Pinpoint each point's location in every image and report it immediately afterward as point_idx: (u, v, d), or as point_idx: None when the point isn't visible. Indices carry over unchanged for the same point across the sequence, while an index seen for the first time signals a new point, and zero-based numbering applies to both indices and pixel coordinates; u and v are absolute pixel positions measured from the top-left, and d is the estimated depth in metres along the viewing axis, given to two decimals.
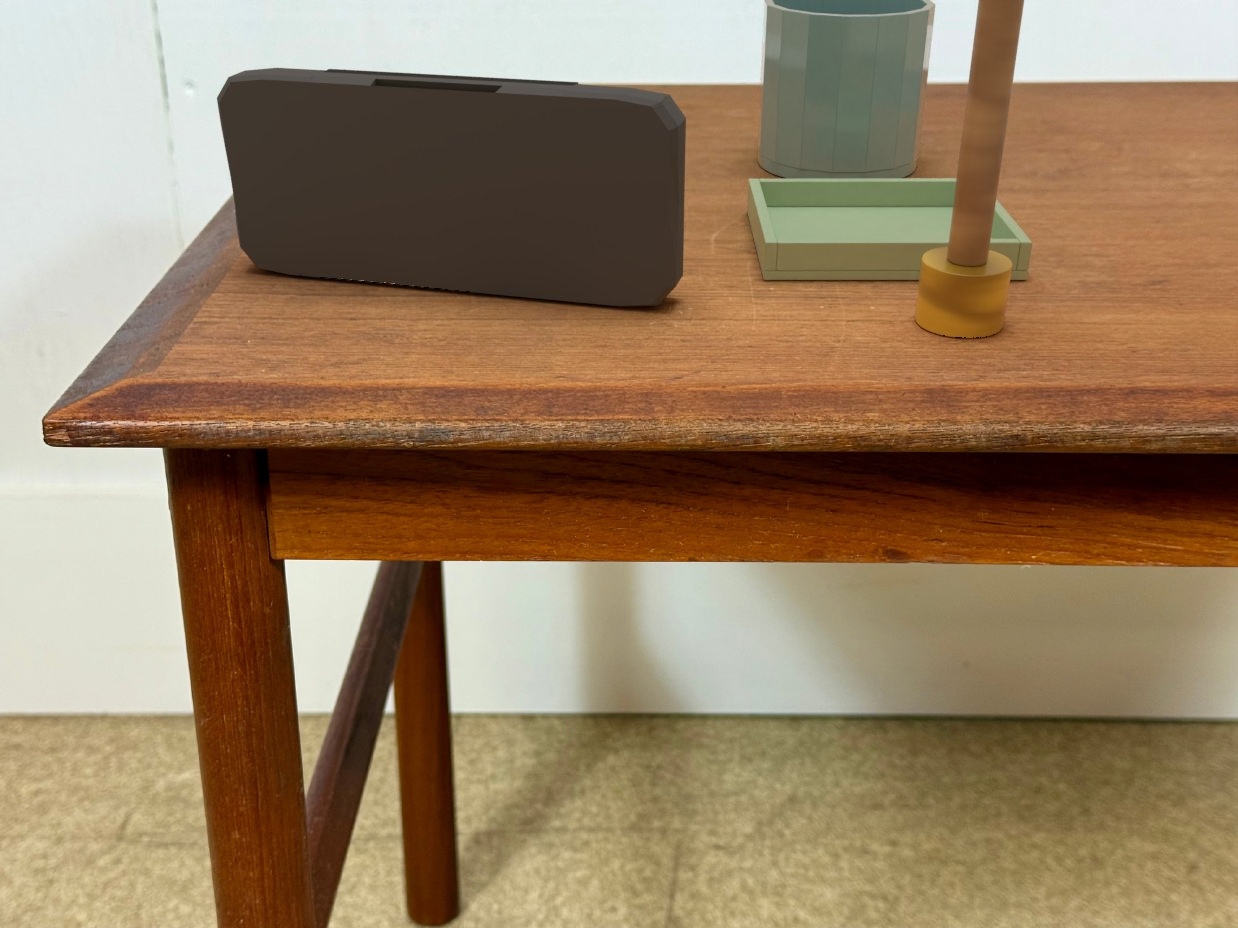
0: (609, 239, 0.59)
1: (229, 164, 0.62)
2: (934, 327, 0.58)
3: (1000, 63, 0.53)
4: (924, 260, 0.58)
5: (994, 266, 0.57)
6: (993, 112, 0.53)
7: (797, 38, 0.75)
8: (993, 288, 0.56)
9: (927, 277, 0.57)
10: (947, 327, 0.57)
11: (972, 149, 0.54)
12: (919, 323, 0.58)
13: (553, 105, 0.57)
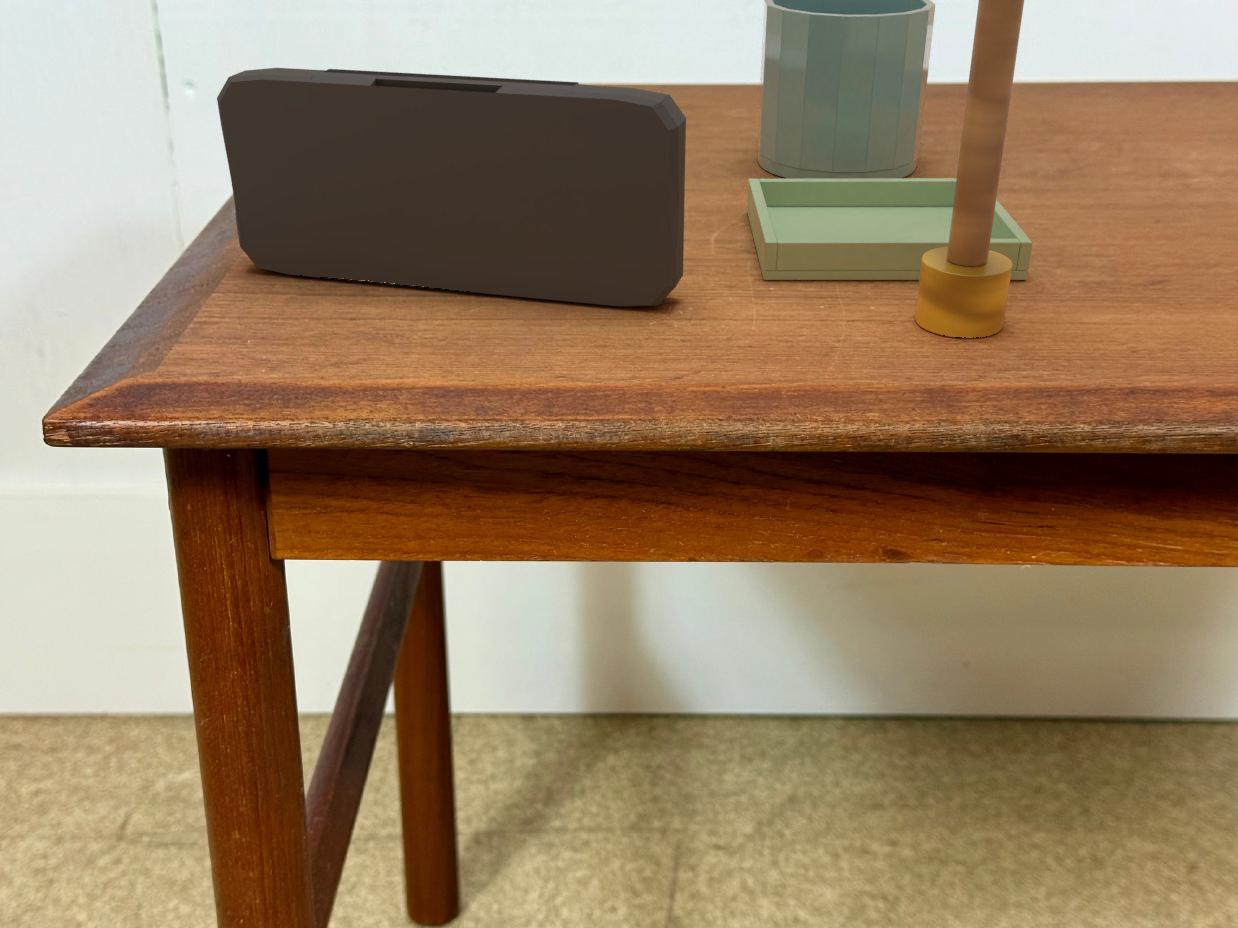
0: (609, 239, 0.59)
1: (229, 164, 0.62)
2: (934, 327, 0.58)
3: (1000, 63, 0.53)
4: (924, 260, 0.58)
5: (994, 266, 0.57)
6: (993, 112, 0.53)
7: (797, 38, 0.75)
8: (993, 288, 0.56)
9: (927, 277, 0.57)
10: (947, 327, 0.57)
11: (972, 149, 0.54)
12: (919, 323, 0.58)
13: (553, 105, 0.57)
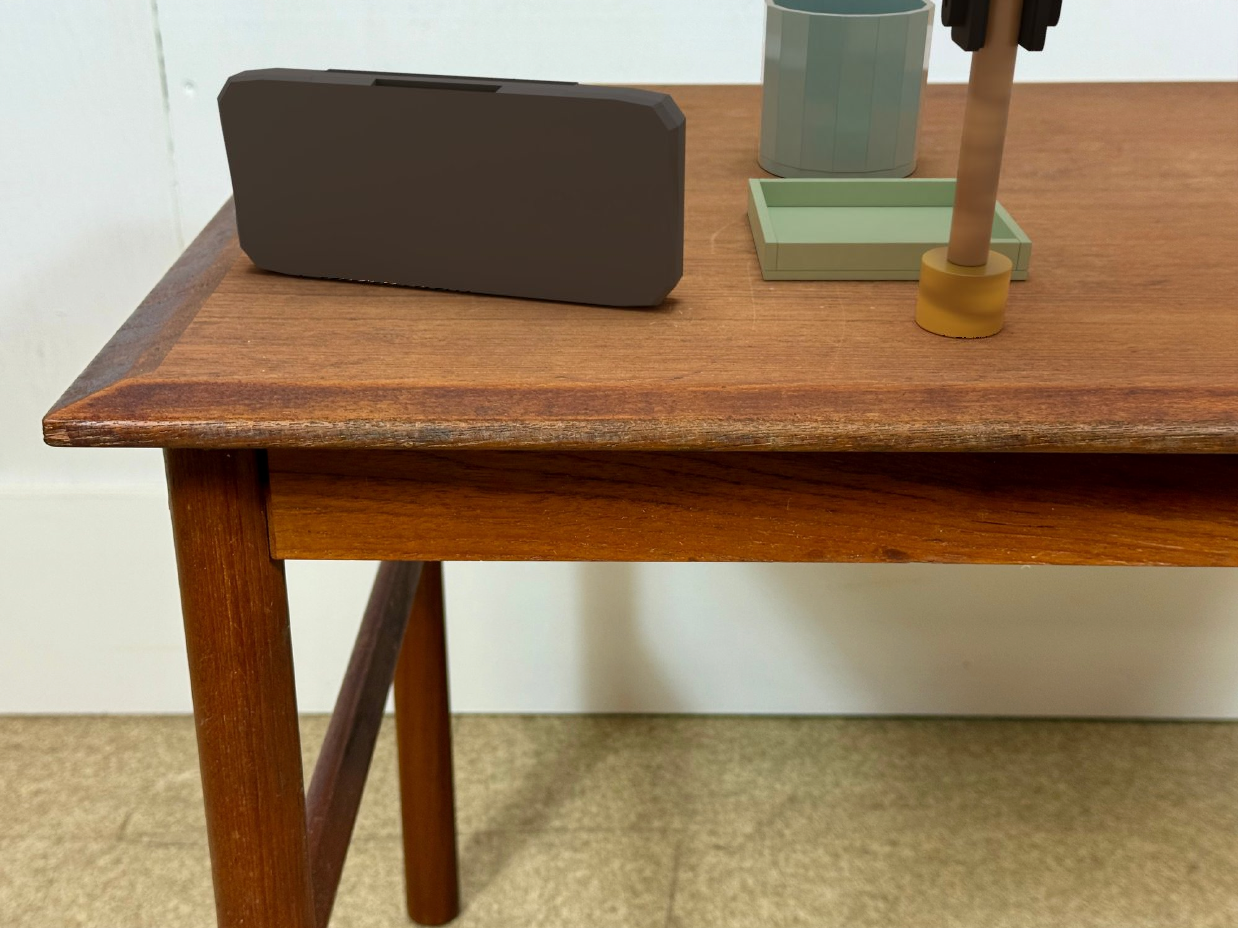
0: (609, 239, 0.59)
1: (229, 164, 0.62)
2: (934, 327, 0.58)
3: (1000, 63, 0.53)
4: (924, 260, 0.58)
5: (994, 266, 0.57)
6: (993, 112, 0.53)
7: (797, 38, 0.75)
8: (993, 288, 0.56)
9: (927, 277, 0.57)
10: (947, 327, 0.57)
11: (972, 149, 0.54)
12: (919, 323, 0.58)
13: (553, 105, 0.57)
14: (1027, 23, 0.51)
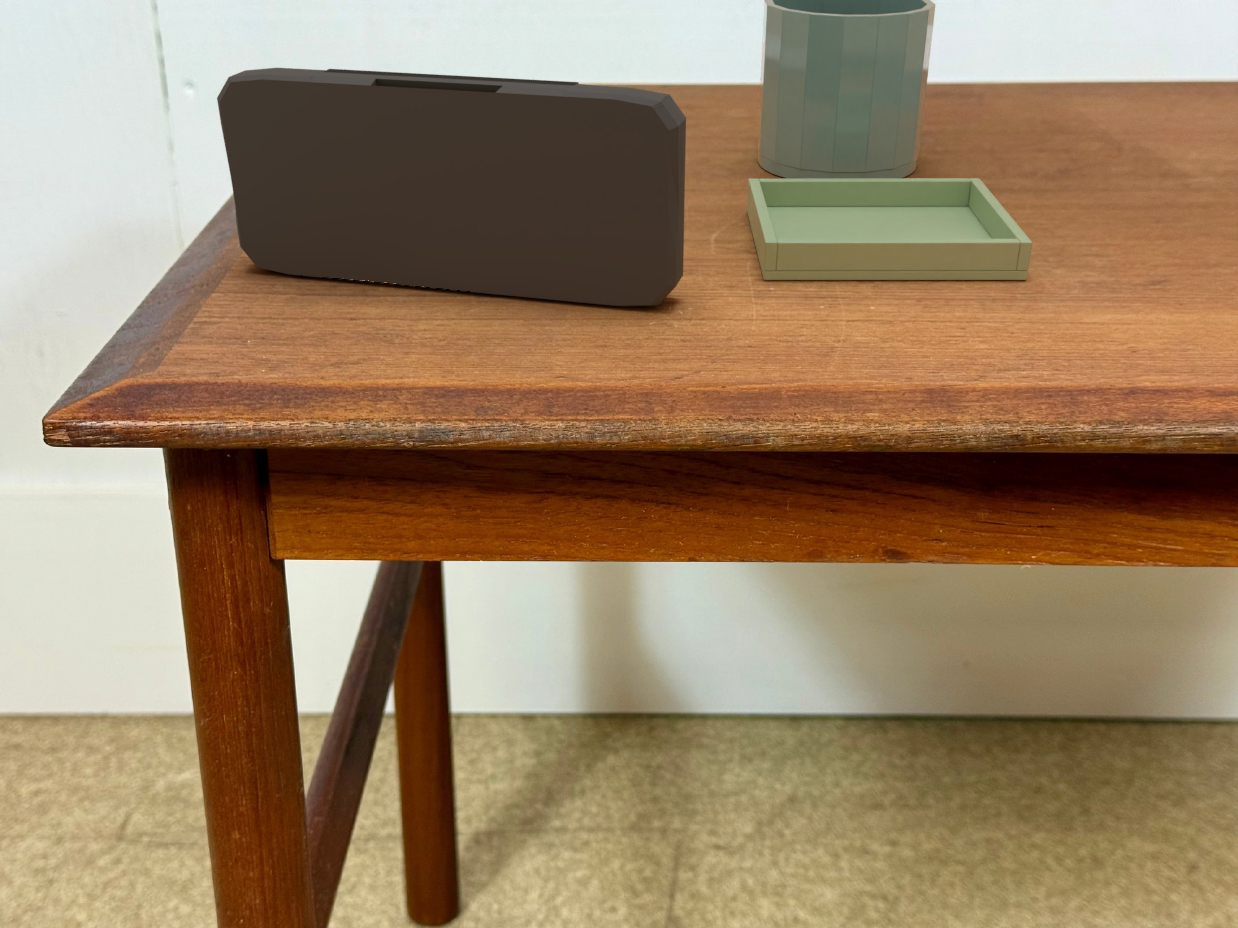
0: (609, 239, 0.59)
1: (229, 164, 0.62)
2: None
3: None
4: None
5: None
6: None
7: (797, 38, 0.75)
8: None
9: None
10: None
11: None
12: None
13: (553, 105, 0.57)
14: None
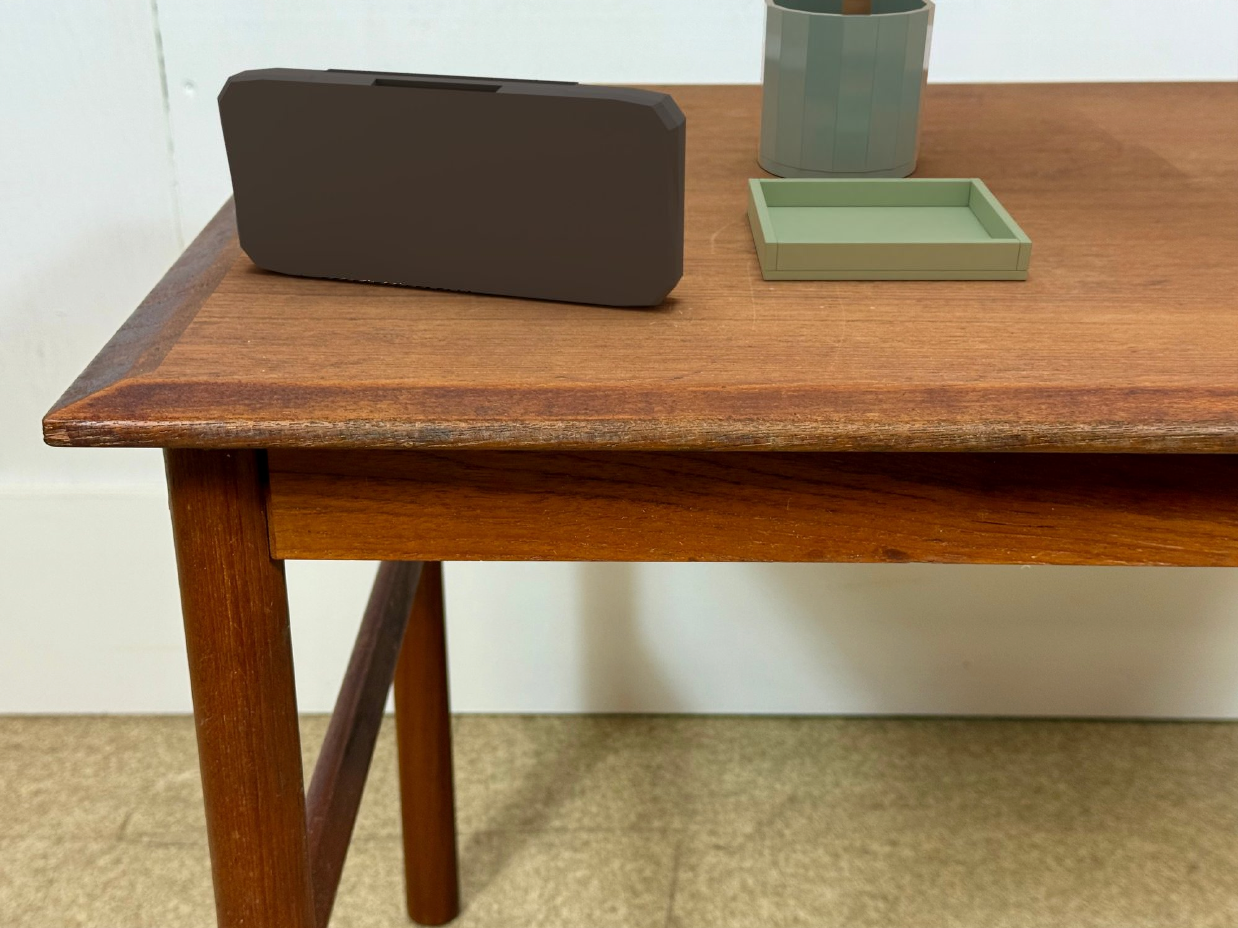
0: (609, 239, 0.59)
1: (229, 164, 0.62)
2: None
3: None
4: None
5: None
6: None
7: (797, 38, 0.75)
8: None
9: None
10: None
11: None
12: None
13: (553, 105, 0.57)
14: None
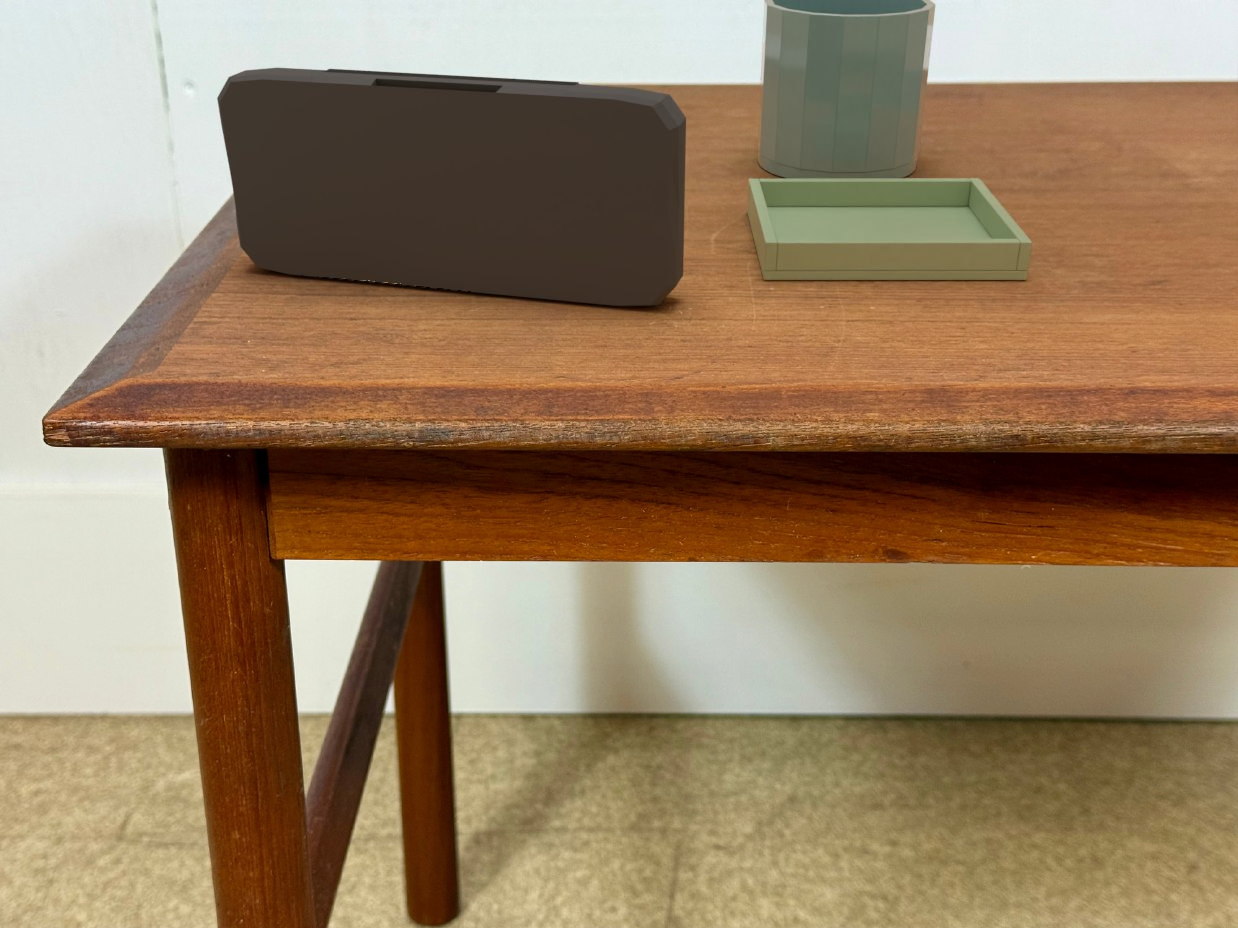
0: (609, 239, 0.59)
1: (229, 164, 0.62)
2: None
3: None
4: None
5: None
6: None
7: (797, 38, 0.75)
8: None
9: None
10: None
11: None
12: None
13: (553, 105, 0.57)
14: None
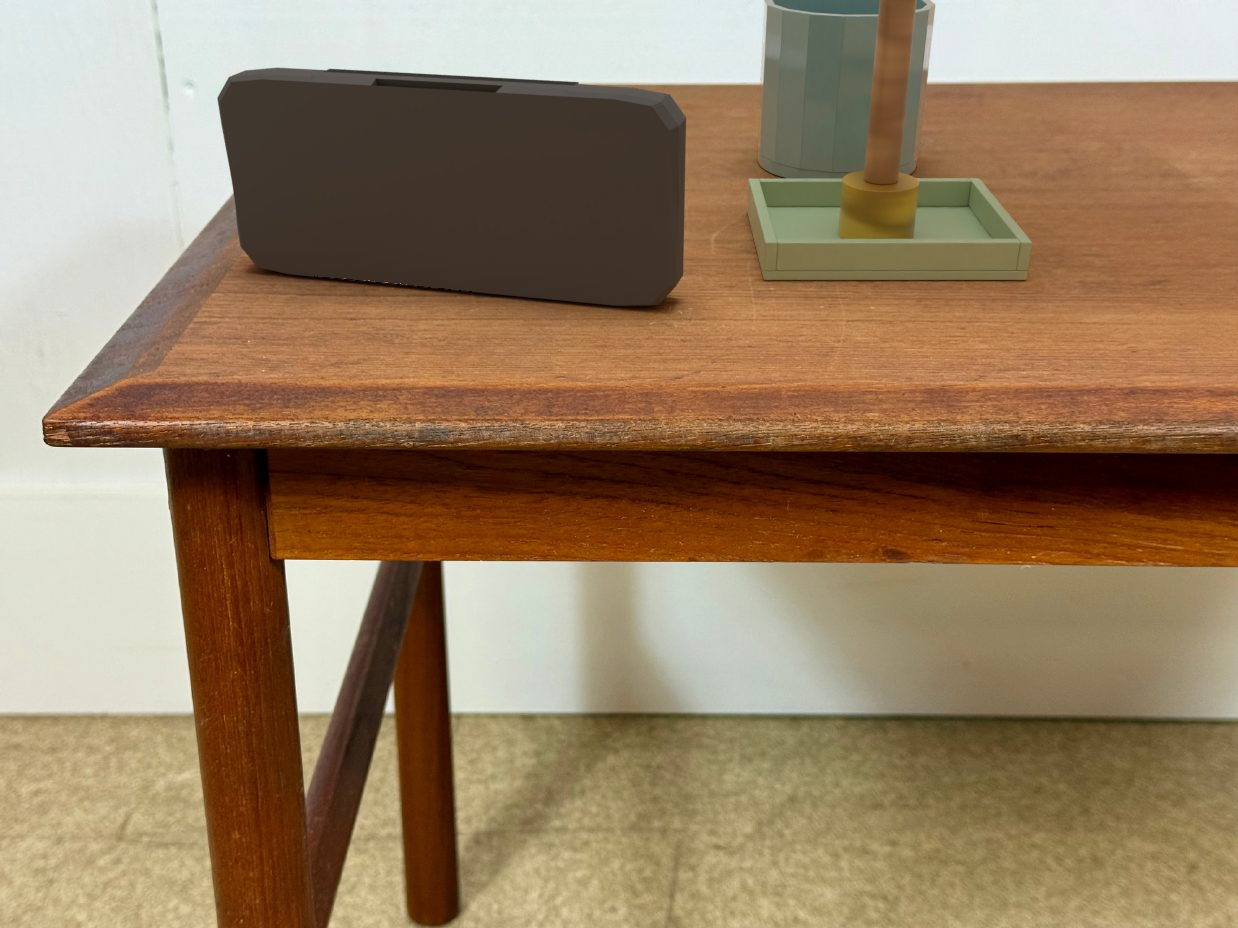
0: (609, 239, 0.59)
1: (229, 164, 0.62)
2: (853, 238, 0.67)
3: (902, 7, 0.62)
4: (844, 180, 0.67)
5: (903, 184, 0.66)
6: (897, 49, 0.63)
7: (797, 38, 0.75)
8: (901, 203, 0.66)
9: (846, 194, 0.67)
10: (864, 237, 0.67)
11: (881, 82, 0.64)
12: (841, 236, 0.68)
13: (553, 105, 0.57)
14: None
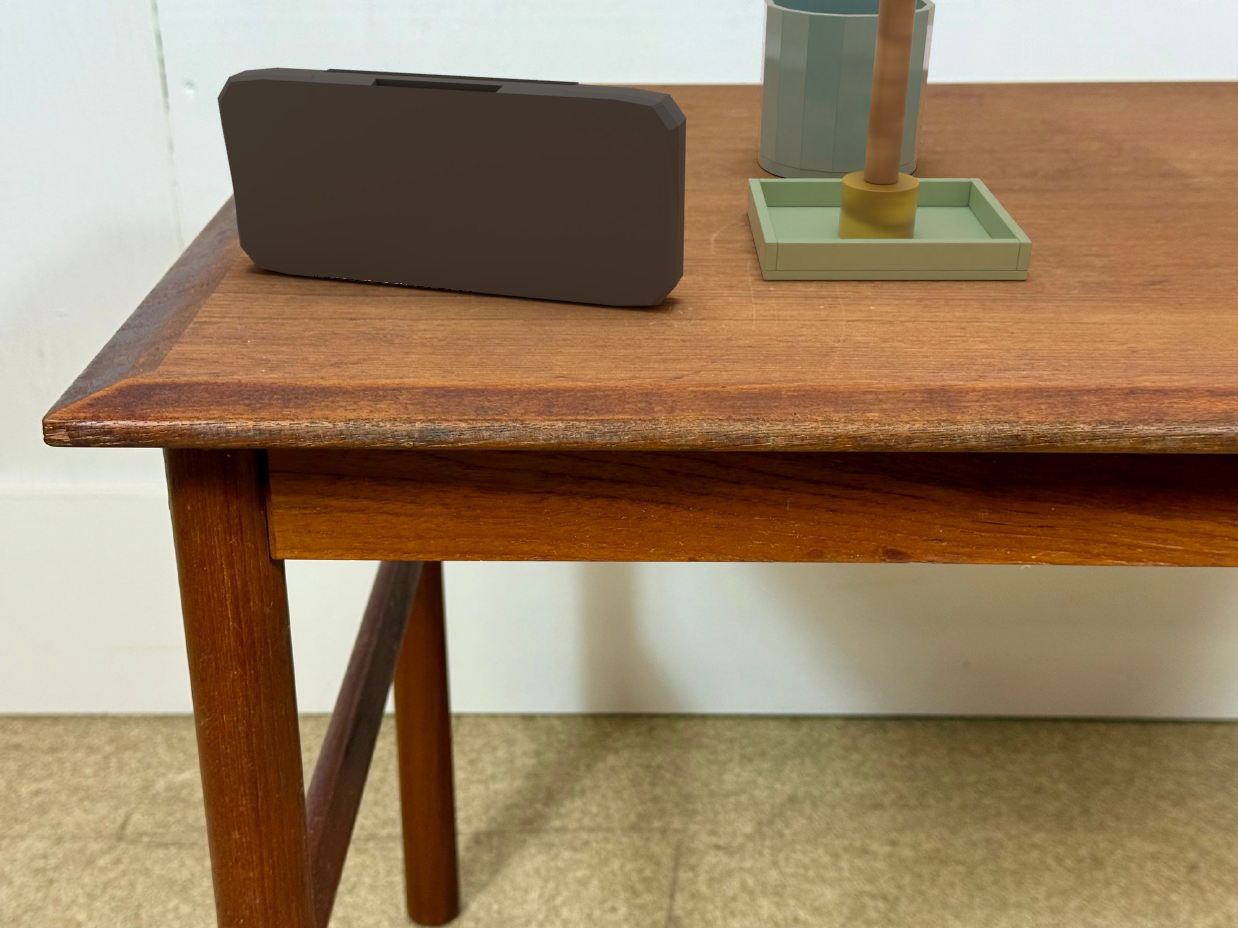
0: (609, 239, 0.59)
1: (230, 164, 0.62)
2: (853, 238, 0.67)
3: (902, 7, 0.62)
4: (844, 180, 0.67)
5: (903, 184, 0.66)
6: (897, 49, 0.63)
7: (797, 38, 0.75)
8: (901, 203, 0.66)
9: (846, 194, 0.67)
10: (864, 237, 0.67)
11: (881, 82, 0.64)
12: (841, 236, 0.68)
13: (553, 105, 0.57)
14: None
